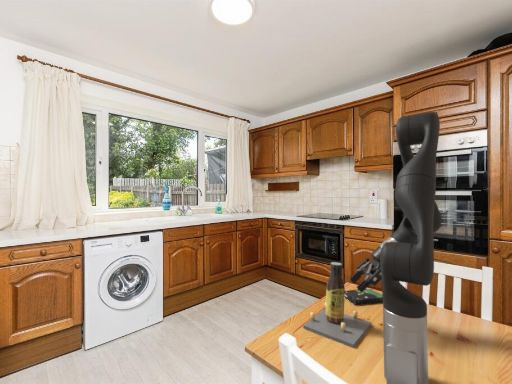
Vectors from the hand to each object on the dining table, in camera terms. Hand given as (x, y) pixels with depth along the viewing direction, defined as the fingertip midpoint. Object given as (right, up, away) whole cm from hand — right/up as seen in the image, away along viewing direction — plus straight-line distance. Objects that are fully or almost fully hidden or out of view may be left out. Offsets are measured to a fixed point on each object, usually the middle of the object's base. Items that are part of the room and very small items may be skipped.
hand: (355, 285), depth 89 cm
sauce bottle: (-7, -12, 0) cm, 14 cm away
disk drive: (+12, -14, +20) cm, 27 cm away
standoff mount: (-7, -13, -3) cm, 15 cm away
